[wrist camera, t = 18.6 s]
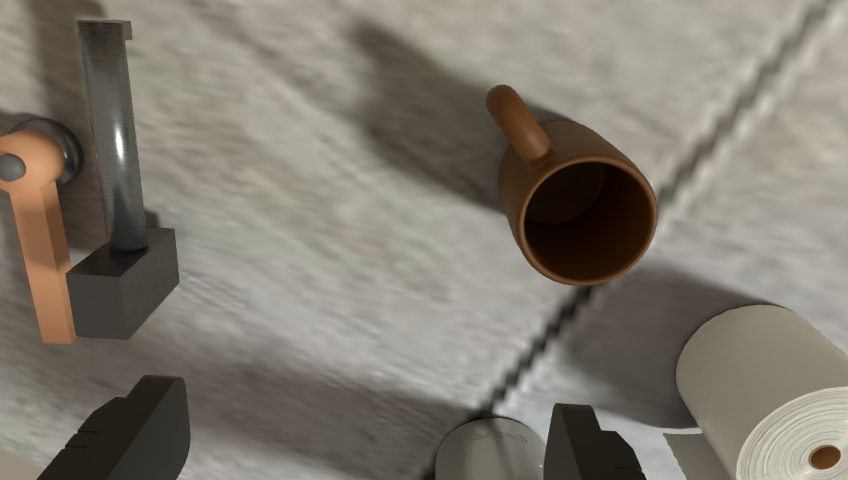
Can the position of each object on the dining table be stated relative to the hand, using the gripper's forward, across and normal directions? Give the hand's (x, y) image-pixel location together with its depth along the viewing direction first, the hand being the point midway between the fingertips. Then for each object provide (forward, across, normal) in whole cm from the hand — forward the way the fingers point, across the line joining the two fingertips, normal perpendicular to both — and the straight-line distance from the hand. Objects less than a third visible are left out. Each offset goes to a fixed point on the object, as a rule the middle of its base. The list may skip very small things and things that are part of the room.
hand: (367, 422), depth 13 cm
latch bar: (+27, +24, +8) cm, 37 cm away
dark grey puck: (+28, +24, +2) cm, 37 cm away
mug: (+28, -8, 0) cm, 29 cm away
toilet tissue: (+28, -26, +16) cm, 42 cm away
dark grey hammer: (+26, +17, +2) cm, 32 cm away
